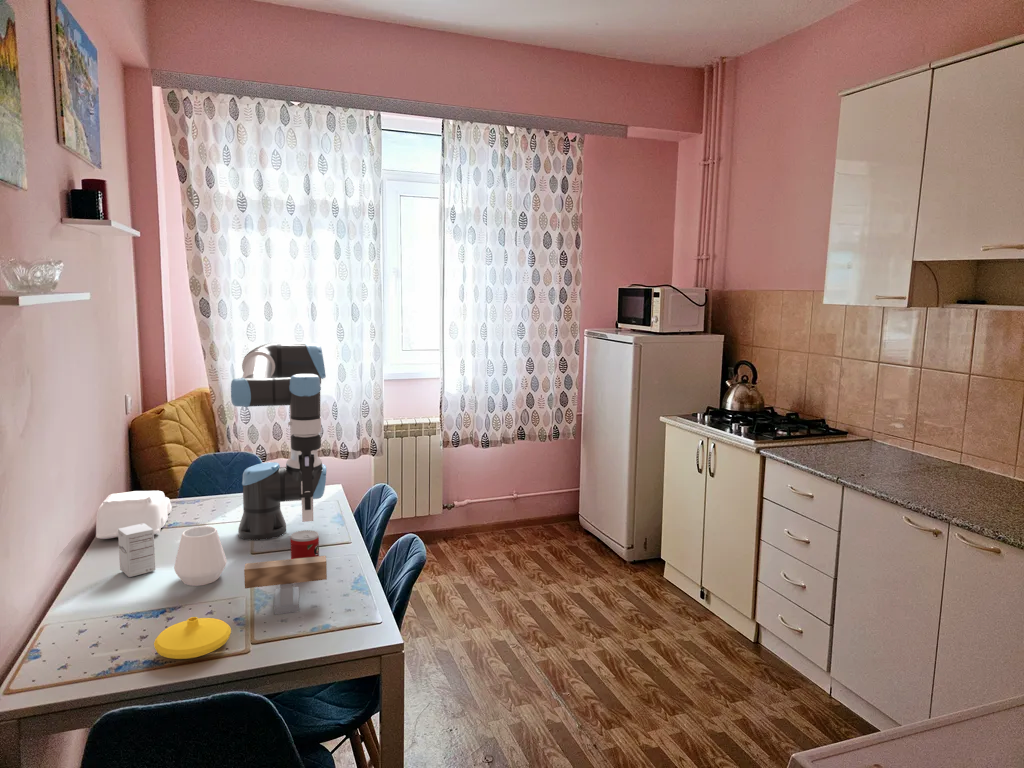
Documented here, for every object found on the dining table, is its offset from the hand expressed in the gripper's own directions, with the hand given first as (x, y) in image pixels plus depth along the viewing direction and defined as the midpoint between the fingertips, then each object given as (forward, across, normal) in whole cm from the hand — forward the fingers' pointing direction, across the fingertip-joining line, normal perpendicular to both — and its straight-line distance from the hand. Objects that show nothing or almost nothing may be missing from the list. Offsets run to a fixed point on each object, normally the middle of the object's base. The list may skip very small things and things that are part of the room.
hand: (307, 512), depth 175 cm
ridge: (+23, +4, -6) cm, 24 cm away
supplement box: (+24, -29, -47) cm, 60 cm away
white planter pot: (+24, -18, -29) cm, 41 cm away
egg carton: (+25, -72, -56) cm, 94 cm away
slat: (+17, +4, -6) cm, 18 cm away
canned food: (+23, -16, -1) cm, 29 cm away
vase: (+23, +22, -25) cm, 40 cm away
